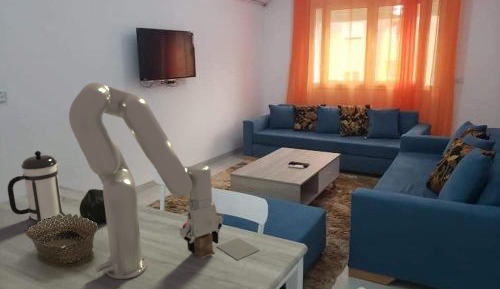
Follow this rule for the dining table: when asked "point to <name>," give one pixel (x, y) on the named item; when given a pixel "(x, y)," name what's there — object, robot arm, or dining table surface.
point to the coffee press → (39, 188)
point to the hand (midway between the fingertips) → (203, 246)
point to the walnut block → (203, 245)
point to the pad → (238, 248)
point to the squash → (93, 206)
